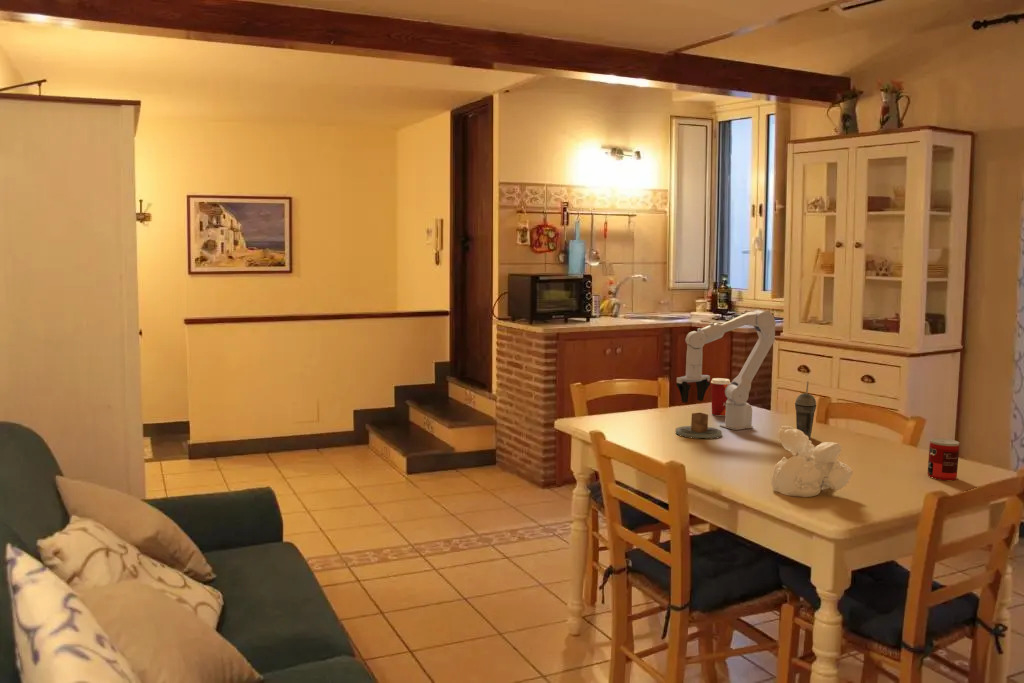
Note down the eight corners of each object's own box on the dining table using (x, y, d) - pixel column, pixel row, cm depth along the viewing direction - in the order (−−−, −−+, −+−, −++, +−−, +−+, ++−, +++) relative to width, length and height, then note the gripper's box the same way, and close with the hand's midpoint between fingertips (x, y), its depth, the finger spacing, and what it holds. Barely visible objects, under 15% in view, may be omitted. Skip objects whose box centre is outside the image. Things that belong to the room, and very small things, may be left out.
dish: (699, 427, 332) (699, 424, 332) (731, 436, 319) (731, 432, 318) (666, 431, 323) (666, 428, 323) (697, 440, 310) (697, 437, 310)
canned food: (931, 472, 275) (933, 436, 273) (959, 477, 270) (962, 441, 268) (923, 477, 269) (926, 440, 267) (953, 482, 264) (956, 445, 262)
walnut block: (699, 429, 323) (700, 412, 323) (707, 431, 320) (708, 414, 319) (691, 430, 321) (691, 413, 320) (699, 432, 318) (699, 415, 317)
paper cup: (731, 416, 352) (732, 381, 351) (711, 416, 353) (712, 380, 351) (726, 412, 360) (728, 377, 359) (707, 412, 360) (708, 377, 359)
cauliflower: (748, 458, 250) (792, 414, 258) (768, 510, 259) (809, 467, 267) (805, 477, 235) (850, 430, 243) (824, 532, 244) (866, 486, 252)
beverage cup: (812, 435, 323) (815, 379, 320) (816, 439, 315) (820, 383, 313) (790, 434, 323) (794, 378, 321) (795, 439, 316) (798, 382, 314)
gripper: (686, 367, 323) (685, 405, 324) (716, 364, 330) (714, 401, 332) (673, 364, 329) (671, 401, 330) (702, 362, 336) (701, 398, 338)
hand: (692, 401), depth 331 cm, fingers open, 7 cm apart
